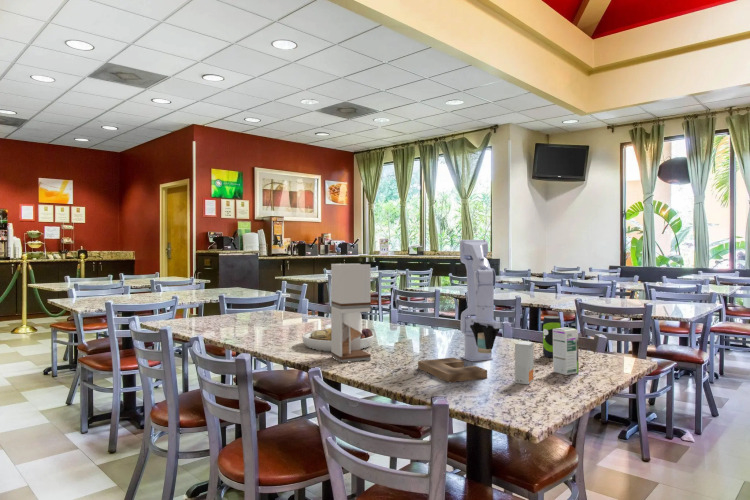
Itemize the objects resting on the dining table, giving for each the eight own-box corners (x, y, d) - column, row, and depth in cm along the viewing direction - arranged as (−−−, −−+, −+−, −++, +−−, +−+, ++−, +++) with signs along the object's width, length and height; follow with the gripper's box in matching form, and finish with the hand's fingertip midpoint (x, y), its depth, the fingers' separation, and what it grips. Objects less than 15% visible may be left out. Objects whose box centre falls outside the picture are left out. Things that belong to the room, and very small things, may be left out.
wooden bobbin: (486, 350, 171) (486, 332, 171) (494, 352, 166) (494, 334, 166) (474, 351, 169) (474, 332, 169) (482, 353, 165) (482, 335, 165)
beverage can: (558, 355, 196) (558, 315, 195) (562, 358, 189) (562, 318, 189) (541, 354, 196) (541, 315, 196) (545, 358, 190) (545, 317, 190)
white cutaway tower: (341, 363, 182) (340, 264, 182) (331, 357, 192) (331, 263, 192) (370, 360, 187) (370, 264, 186) (359, 354, 196) (359, 263, 196)
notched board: (453, 364, 180) (453, 357, 180) (487, 378, 161) (487, 370, 161) (418, 368, 174) (418, 361, 174) (448, 382, 156) (448, 374, 156)
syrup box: (566, 375, 164) (566, 330, 164) (552, 371, 170) (552, 327, 170) (579, 373, 167) (579, 329, 167) (564, 369, 172) (564, 326, 172)
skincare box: (528, 385, 153) (528, 345, 153) (514, 383, 156) (514, 343, 155) (534, 380, 158) (534, 341, 158) (520, 378, 161) (520, 340, 161)
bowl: (292, 352, 203) (292, 332, 202) (314, 338, 232) (314, 321, 232) (367, 354, 198) (367, 334, 197) (379, 340, 227) (379, 323, 227)
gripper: (461, 304, 173) (461, 344, 173) (487, 309, 159) (487, 352, 159) (479, 303, 175) (479, 342, 176) (506, 308, 162) (506, 350, 162)
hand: (484, 347), depth 168 cm, fingers closed on wooden bobbin, 5 cm apart
